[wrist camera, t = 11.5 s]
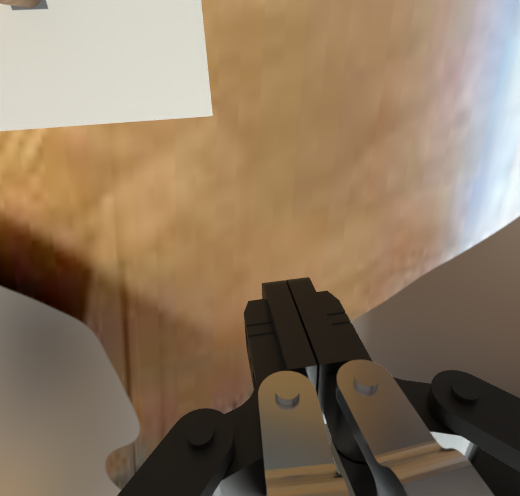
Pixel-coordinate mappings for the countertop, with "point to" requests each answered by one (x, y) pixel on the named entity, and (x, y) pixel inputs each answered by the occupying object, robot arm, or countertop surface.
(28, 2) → the fixed fence
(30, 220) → the countertop surface
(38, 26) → the card
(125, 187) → the countertop surface
